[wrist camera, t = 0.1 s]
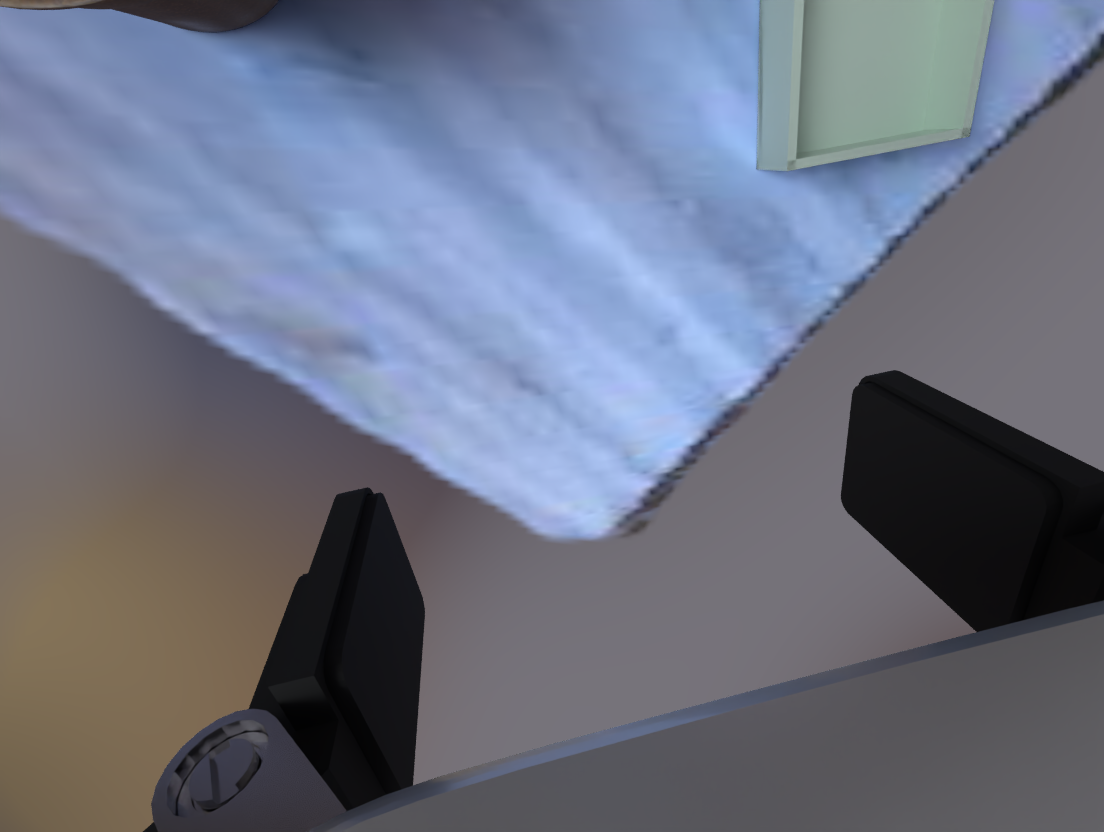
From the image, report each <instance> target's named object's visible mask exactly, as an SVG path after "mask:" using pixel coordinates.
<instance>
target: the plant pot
mask: <svg viewBox="0 0 1104 832" xmlns="http://www.w3.org/2000/svg"><path fill="white" fill-rule="evenodd" d="M278 1H279V0H0V6H1V7H9V8H17V9H32V10H60V9H72V8H84V9H113V10H117V11H121V12H124V13H128V14H132V15H136V16H139V17H143V18H147V19H151V20H154V21H158V22H162V23H165V24H168V25H172V26H175V27H178V28H182V29H187V30H193V31H201V32H221V31H228V30H233V29H237V28H241V27H243V26H246V25H248V24H251V23H253V22H255V21H257V20H258V19H260V18H261V17H263V16H264V15H266V14H267V13H268V12H269V11H270V10H271V9H272V8H273V7H274V6H275V5H276V4H277V2H278Z"/></svg>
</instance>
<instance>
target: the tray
mask: <svg viewBox="0 0 1104 832" xmlns="http://www.w3.org/2000/svg"><path fill="white" fill-rule="evenodd" d="M993 5H994V0H760V21H759V73H758V126H757V170H775V171H790V170H796V169H801V168H806V167H812V166H817V165H822V164H827V163H833V162H838V161H843V160H849V159H854V158H859V157H864V156H870V155H875V154H880V153H886V152H891V151H896V150H901V149H907V148H912V147H917V146H922V145H928V144H933V143H938V142H944V141H949V140H954V139H959V138H965V137H969V136H970V131H971V125H972V120H973V114H974V109H975V103H976V98H977V92H978V87H979V82H980V76H981V71H982V65H983V60H984V54H985V49H986V43H987V38H988V33H989V27H990V22H991V16H992V11H993Z"/></svg>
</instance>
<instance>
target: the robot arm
mask: <svg viewBox="0 0 1104 832" xmlns="http://www.w3.org/2000/svg"><path fill="white" fill-rule="evenodd" d="M841 500H842V504H843V506H844V508H845V510H846V511H847V512H848V514H850V516H852V517H853V518H854V519H855V520H856V521H857V522H858V523H859V524H860V525H861V526H862V527H863V528H865V529H866V530H867V531H868V532H869V533H870V534H871V535H872V536H873V537H874V538H875V539H876V540H878V541H879V542H880V543H881V544H882V545H883V546H884V547H885V548H886V549H887V550H889V551H890V552H891V553H892V554H893V555H894V556H895V557H896V558H897V559H898V560H899V561H900V562H901V563H903V564H904V565H905V566H906V567H907V568H908V569H909V570H910V571H911V572H912V573H913V574H914V575H916V576H917V577H918V578H919V579H920V580H921V581H922V582H923V583H924V584H925V585H926V586H927V587H929V588H930V589H931V590H932V591H933V592H934V593H935V594H936V595H937V596H938V597H939V598H940V599H942V600H943V601H944V602H945V603H946V604H947V605H948V606H949V607H950V608H951V609H952V610H953V611H955V612H956V613H957V614H958V615H959V616H960V617H961V618H962V619H963V620H964V621H965V622H967V623H968V624H969V625H970V626H971V627H972V628H973V629H974V630H975V631H977V632H976V633H972V634H969V635H964V636H961V637H956V638H952V639H948V640H945V641H941V642H937V643H933V644H929V645H925V646H921V647H917V648H913V649H909V650H906V651H902V652H898V653H894V654H891V655H887V656H883V657H879V658H875V659H871V660H867V661H863V662H860V663H856V664H852V665H848V666H844V667H841V668H837V669H833V670H829V671H825V672H821V673H818V674H814V675H810V676H806V677H802V678H798V679H795V680H791V681H787V682H783V683H780V684H776V685H772V686H768V687H764V688H761V689H757V690H753V691H749V692H745V693H741V694H738V695H734V696H730V697H726V698H722V699H719V700H715V701H711V702H707V703H704V704H700V705H696V706H692V707H689V708H685V709H681V710H678V711H674V712H670V713H666V714H663V715H659V716H655V717H651V718H648V719H644V720H640V721H637V722H633V723H629V724H625V725H622V726H618V727H614V728H610V729H607V730H603V731H599V732H596V733H592V734H588V735H584V736H581V737H577V738H573V739H570V740H566V741H562V742H558V743H554V744H551V745H547V746H544V747H540V748H537V749H533V750H530V751H527V752H523V753H520V754H516V755H513V756H509V757H506V758H502V759H499V760H495V761H492V762H488V763H485V764H481V765H478V766H474V767H471V768H467V769H464V770H460V771H457V772H453V773H450V774H447V775H443V776H440V777H437V778H434V779H431V780H428V781H426V782H422V783H419V784H416V785H413V775H414V762H415V748H416V747H415V746H416V733H417V719H418V705H419V691H420V677H421V661H422V648H423V633H424V619H425V608H424V602H423V597H422V595H421V592H420V589H419V586H418V584H417V581H416V579H415V576H414V573H413V570H412V568H411V565H410V563H409V560H408V557H407V555H406V552H405V549H404V547H403V544H402V542H401V539H400V536H399V534H398V531H397V528H396V526H395V523H394V520H393V518H392V515H391V512H390V510H389V507H388V504H387V502H386V499H385V497H384V495H383V494H382V493H376V494H373V492H372V490H371V489H370V488H363V489H358V490H354V491H349V492H345V493H341V494H338V495H336V497H335V499H334V502H333V505H332V508H331V511H330V513H329V516H328V519H327V522H326V525H325V527H324V530H323V533H322V536H321V539H320V542H319V544H318V547H317V550H316V553H315V556H314V558H313V561H312V564H311V567H310V570H309V573H307V574H303V576H301V577H299V579H298V581H297V583H296V585H295V587H294V590H293V592H292V595H291V598H290V600H289V603H288V605H287V608H286V611H285V613H284V616H283V619H282V622H281V624H280V627H279V629H278V632H277V635H276V638H275V640H274V643H273V645H272V648H271V651H270V653H269V656H268V659H267V661H266V664H265V667H264V670H263V672H262V675H261V677H260V680H259V683H258V685H257V688H256V691H255V693H254V696H253V699H252V702H251V704H250V707H249V709H247V710H242V711H237V712H234V713H232V714H230V715H227V716H225V717H222V718H220V719H218V720H216V721H215V722H213V723H212V724H210V725H209V726H207V727H205V728H204V729H202V730H201V731H200V732H199V733H197V734H196V735H195V736H194V737H193V738H192V739H191V740H189V741H188V742H187V743H186V744H185V745H184V746H183V747H182V748H181V749H180V750H179V752H178V753H177V754H176V755H175V756H174V758H173V759H172V760H171V761H170V763H169V764H168V765H167V767H166V768H165V770H164V772H163V774H162V776H161V778H160V779H159V781H158V783H157V785H156V788H155V792H154V796H153V800H152V803H151V806H152V814H153V820H154V822H153V823H152V824H151V825H150V826H149V827H148V828H147V829H145V830H144V831H143V832H1104V472H1103V471H1101V470H1098V469H1096V468H1095V467H1093V466H1091V465H1089V464H1086V463H1084V462H1082V461H1080V460H1078V459H1076V458H1074V457H1072V456H1070V455H1068V454H1066V453H1064V452H1062V451H1060V450H1058V449H1056V448H1054V447H1052V446H1050V445H1048V444H1046V443H1044V442H1042V441H1040V440H1038V439H1036V438H1034V437H1032V436H1030V435H1028V434H1026V433H1024V432H1022V431H1020V430H1018V429H1015V428H1014V427H1011V426H1009V425H1007V424H1005V423H1003V422H1001V421H999V420H997V419H995V418H993V417H991V416H989V415H987V414H985V413H983V412H981V411H979V410H977V409H975V408H973V407H971V406H969V405H967V404H965V403H963V402H961V401H959V400H957V399H955V398H952V397H951V396H949V395H947V394H945V393H942V392H941V391H938V390H936V389H934V388H932V387H930V386H928V385H926V384H924V383H922V382H920V381H918V380H916V379H914V378H912V377H910V376H908V375H906V374H904V373H902V372H900V371H896V370H893V371H888V372H883V373H879V374H874V375H870V376H866V377H864V378H863V379H862V380H861V381H860V383H859V385H858V386H856V387H855V389H854V390H853V394H852V402H851V410H850V419H849V428H848V437H847V447H846V455H845V463H844V472H843V482H842V490H841Z"/></svg>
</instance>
